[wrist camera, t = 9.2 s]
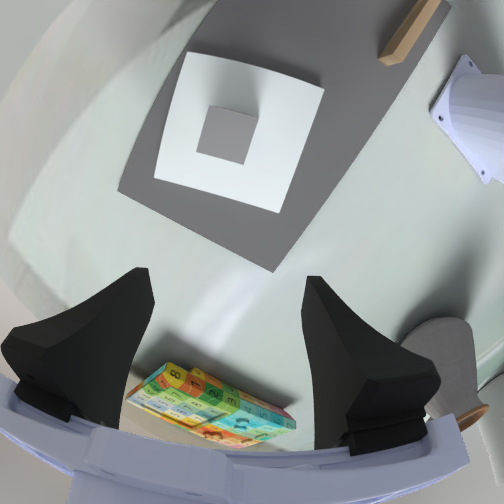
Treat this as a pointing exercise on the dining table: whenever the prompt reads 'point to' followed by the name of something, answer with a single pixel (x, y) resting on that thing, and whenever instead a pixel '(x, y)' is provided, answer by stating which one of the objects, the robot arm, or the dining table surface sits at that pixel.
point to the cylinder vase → (494, 425)
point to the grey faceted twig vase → (450, 368)
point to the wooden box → (408, 32)
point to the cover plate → (270, 137)
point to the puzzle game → (209, 407)
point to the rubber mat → (324, 124)
